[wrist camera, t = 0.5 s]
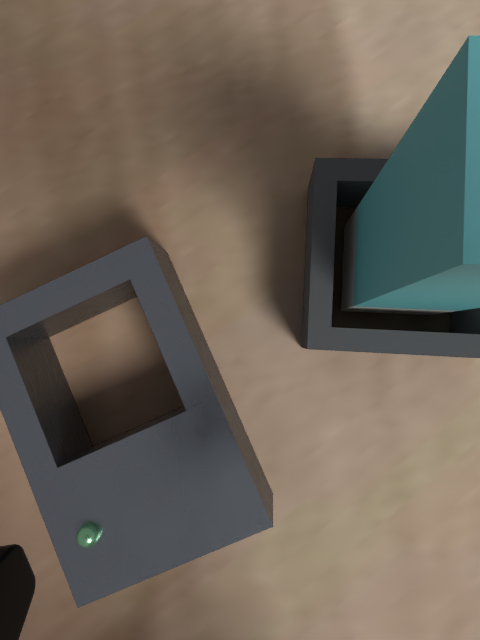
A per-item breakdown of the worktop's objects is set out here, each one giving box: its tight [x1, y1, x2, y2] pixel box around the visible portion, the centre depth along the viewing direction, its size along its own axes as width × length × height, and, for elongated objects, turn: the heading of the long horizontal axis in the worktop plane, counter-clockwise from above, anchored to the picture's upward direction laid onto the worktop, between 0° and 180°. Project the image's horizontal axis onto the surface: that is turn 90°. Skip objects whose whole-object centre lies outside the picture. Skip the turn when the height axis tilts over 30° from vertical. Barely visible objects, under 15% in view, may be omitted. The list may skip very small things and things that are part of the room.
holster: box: [301, 158, 480, 358], centre depth 18 cm, size 8×8×4 cm
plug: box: [341, 36, 480, 315], centre depth 14 cm, size 4×4×13 cm
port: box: [0, 236, 273, 608], centre depth 19 cm, size 14×10×4 cm
